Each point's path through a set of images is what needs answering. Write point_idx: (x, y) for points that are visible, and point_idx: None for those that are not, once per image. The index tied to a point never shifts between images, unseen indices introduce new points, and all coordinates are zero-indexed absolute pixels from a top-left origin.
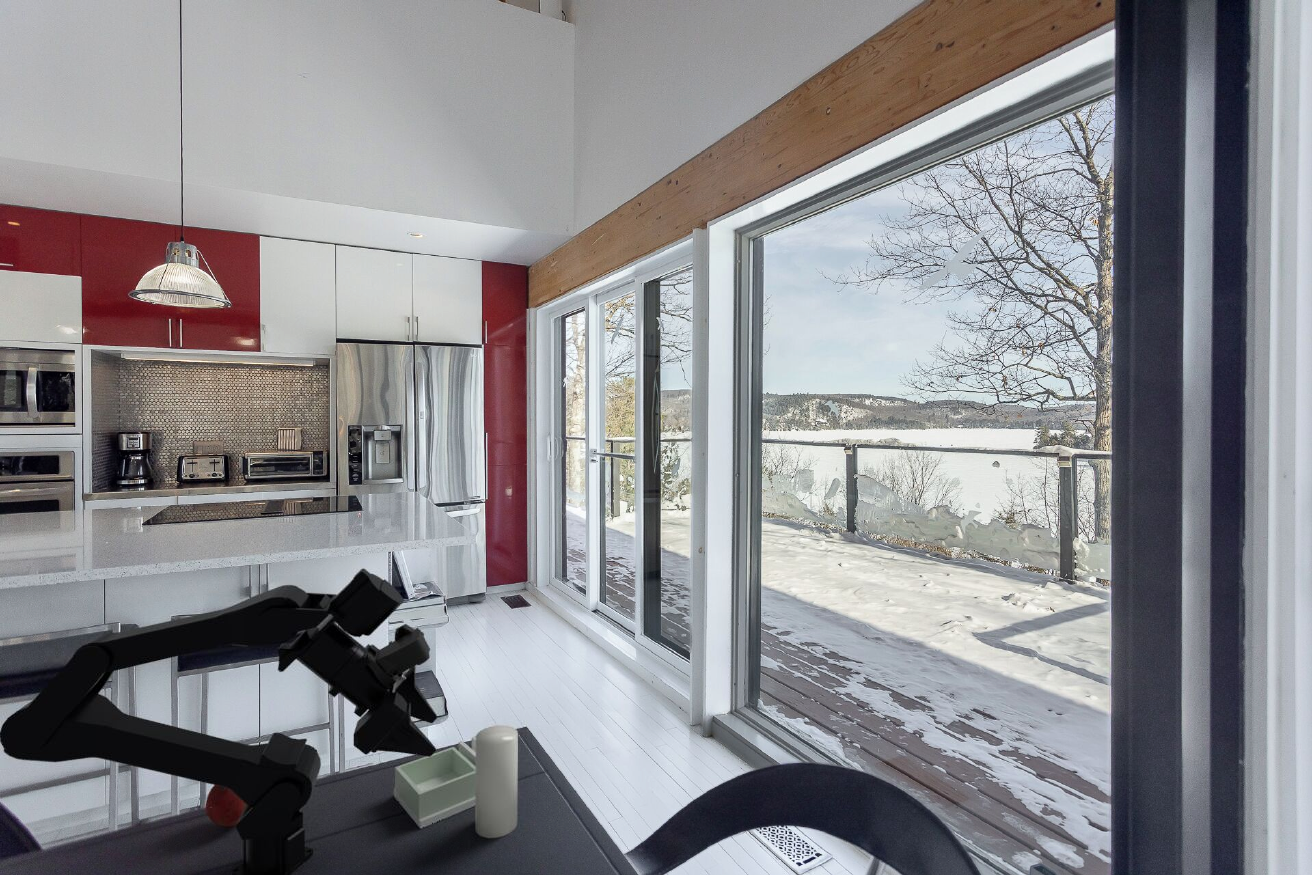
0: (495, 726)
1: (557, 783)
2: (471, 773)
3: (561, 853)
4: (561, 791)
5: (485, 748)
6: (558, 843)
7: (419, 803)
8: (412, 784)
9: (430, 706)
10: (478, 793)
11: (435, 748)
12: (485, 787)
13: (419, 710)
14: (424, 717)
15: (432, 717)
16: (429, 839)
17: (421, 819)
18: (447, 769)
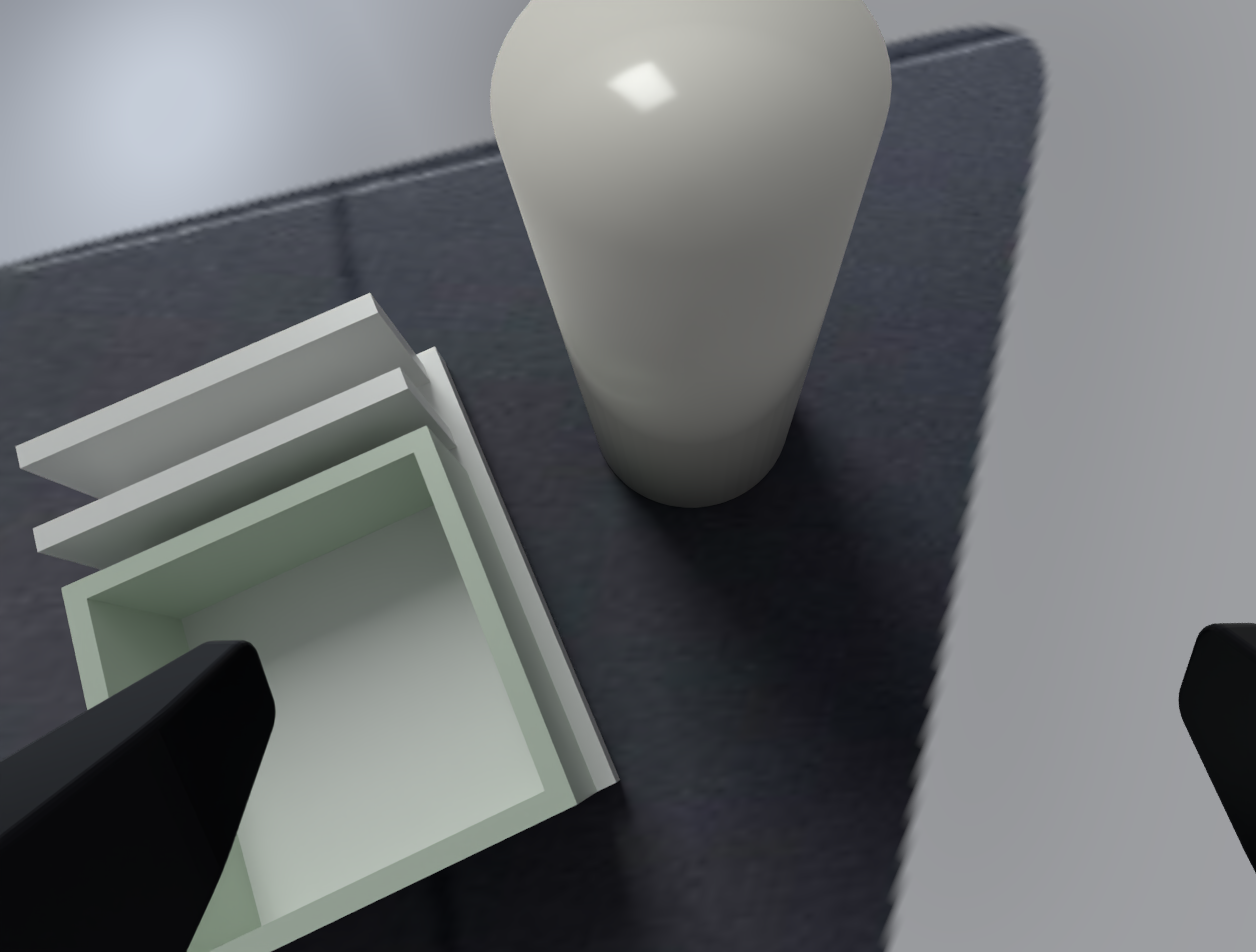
0: (505, 93)
1: (456, 153)
2: (439, 476)
3: (954, 178)
4: None
5: (855, 191)
6: (887, 183)
7: (584, 797)
8: (436, 858)
9: (58, 739)
10: (756, 421)
11: (1241, 627)
12: (807, 358)
13: (97, 942)
14: (208, 829)
15: (236, 705)
16: (722, 728)
17: (598, 778)
18: (176, 641)
